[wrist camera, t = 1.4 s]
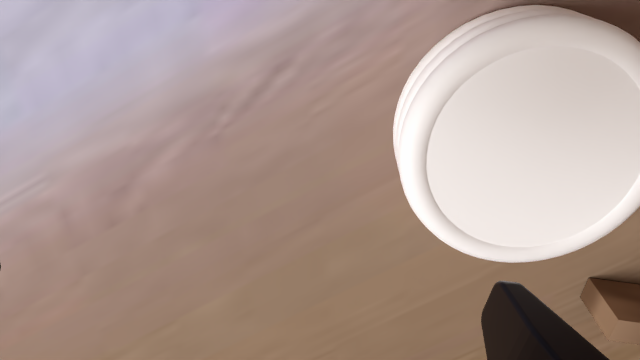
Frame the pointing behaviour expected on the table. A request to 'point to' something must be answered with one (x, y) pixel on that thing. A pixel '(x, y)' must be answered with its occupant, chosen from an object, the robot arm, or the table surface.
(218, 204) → the table surface
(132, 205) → the table surface
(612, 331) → the wooden u-shaped frame
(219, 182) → the table surface
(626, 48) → the coaster
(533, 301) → the robot arm
